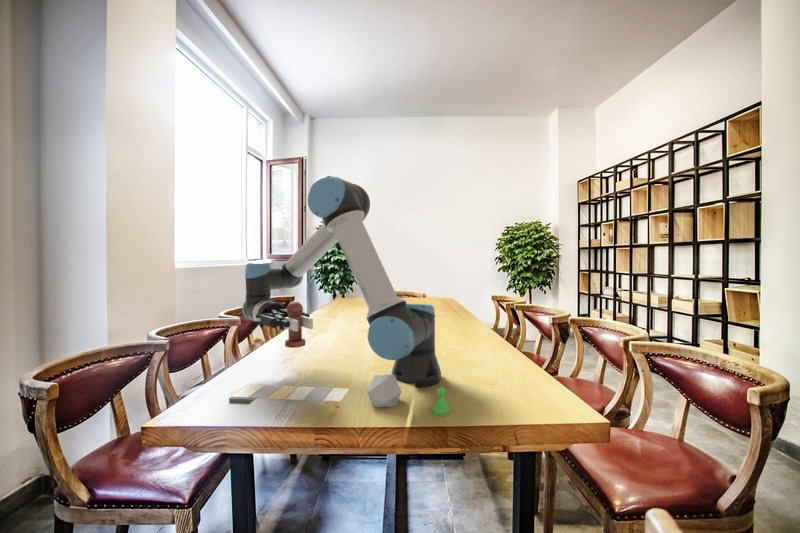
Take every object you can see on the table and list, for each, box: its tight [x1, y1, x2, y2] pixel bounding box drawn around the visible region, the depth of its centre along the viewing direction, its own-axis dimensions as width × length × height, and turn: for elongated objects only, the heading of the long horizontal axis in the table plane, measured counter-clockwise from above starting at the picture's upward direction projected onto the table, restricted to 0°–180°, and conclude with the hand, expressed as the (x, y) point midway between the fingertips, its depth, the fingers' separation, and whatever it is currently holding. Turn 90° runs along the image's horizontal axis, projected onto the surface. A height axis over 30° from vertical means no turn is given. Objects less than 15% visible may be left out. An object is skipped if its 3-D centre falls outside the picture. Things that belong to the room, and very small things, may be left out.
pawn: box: [284, 301, 306, 349], centre depth 92 cm, size 5×5×12 cm
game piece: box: [431, 386, 451, 416], centre depth 82 cm, size 4×4×6 cm
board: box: [228, 383, 350, 404], centre depth 92 cm, size 30×10×1 cm, turn 82°
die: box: [367, 374, 402, 408], centre depth 85 cm, size 8×9×10 cm
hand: (304, 324), depth 88 cm, fingers closed on pawn, 3 cm apart
